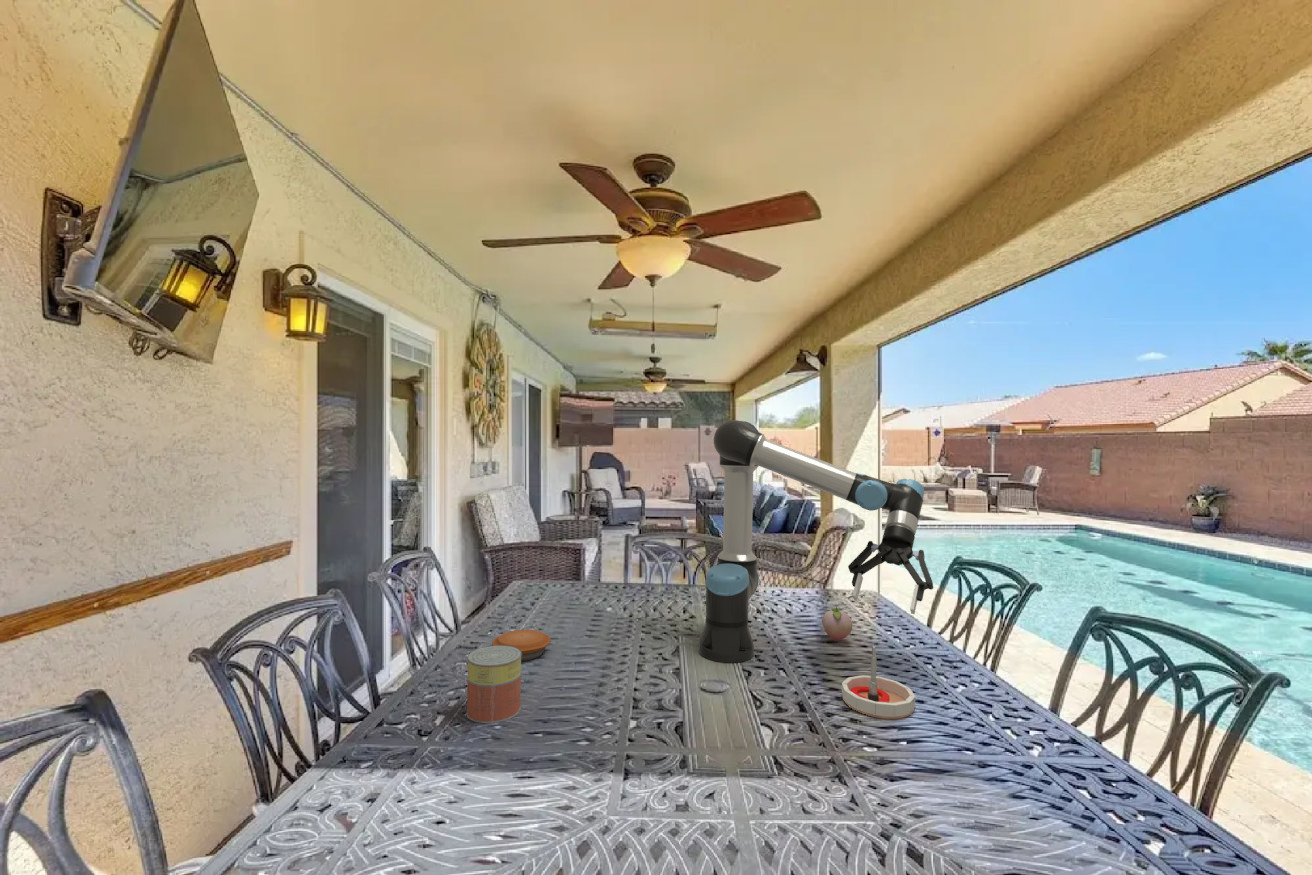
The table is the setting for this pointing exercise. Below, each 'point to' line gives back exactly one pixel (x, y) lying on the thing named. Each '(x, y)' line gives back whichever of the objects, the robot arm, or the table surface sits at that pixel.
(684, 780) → the table surface
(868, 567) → the robot arm
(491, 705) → the canned food
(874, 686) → the tow hook
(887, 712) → the round tray
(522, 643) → the pie
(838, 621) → the decorative fruit
